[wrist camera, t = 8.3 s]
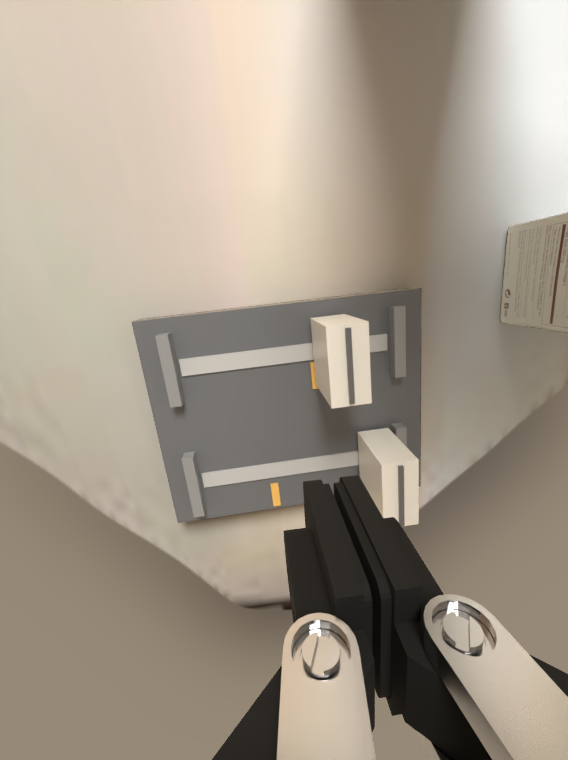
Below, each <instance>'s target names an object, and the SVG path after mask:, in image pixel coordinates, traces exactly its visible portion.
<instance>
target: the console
mask: <svg viewBox="0 0 568 760" xmlns="http://www.w3.org/2000/svg"><path fill="white" fill-rule="evenodd" d="M340 314H347V315H350V316H353V317H356V318H359V319H363V320H366V321H369V344H370V370H371V396H372V403H370V404H362V405H355V406H348V407H340V408H333V409H332V408H331V407H330V405H329V404H328V402H327V401H326V399H325V398H324V396H323V395H322V393H321V391H320V390H319V388H318V387H317V385H316V379H315V367H314V355H313V344H312V332H311V320H310V318H314V317H323V316H331V315H340ZM132 326H133V330H134V334H135V339H136V343H137V347H138V352H139V356H140V360H141V365H142V369H143V373H144V378H145V382H146V386H147V391H148V395H149V399H150V404H151V408H152V412H153V417H154V421H155V425H156V430H157V434H158V438H159V443H160V447H161V451H162V456H163V460H164V464H165V469H166V473H167V477H168V482H169V486H170V490H171V495H172V499H173V503H174V508H175V512H176V516H177V521H178V523H182V522H188V521H195V520H201V519H208V518H214V517H221V516H227V515H234V514H241V513H247V512H254V511H260V510H267V509H273V508H280V507H286V506H293V505H299V504H304V494H303V481H311V480H320V479H321V480H322V482H323V484H328V483H329V485H330V487H331V489H332V492H333V494H334V490H333V485H334V483H337V482H339V478H340V477H345V476H354V475H359V477H360V472H359V453H358V433H357V432H361V431H368V430H375V429H382V428H389V429H390V430H391V431H392V432H393V433H394V435H395V436H396V437H397V438H398V439H399V440H400V441H401V442H402V443H403V444H404V445H405V446H406V447H407V448H408V449H409V450H410V451H411V452H412V453H413V454H414V455H415V456H416V457H417V459H418V460H419V486H420V456H421V288H404V289H395V290H387V291H378V292H369V293H361V294H352V295H343V296H335V297H326V298H318V299H309V300H300V301H292V302H283V303H275V304H266V305H257V306H249V307H240V308H232V309H223V310H214V311H206V312H197V313H188V314H180V315H171V316H163V317H154V318H145V319H139V320H136V321H133V322H132Z"/></svg>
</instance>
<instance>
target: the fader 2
mask: <svg viewBox="0 0 568 760" xmlns="http://www.w3.org/2000/svg"><path fill="white" fill-rule="evenodd" d="M357 433H358V453H359V472H360V478H361V480H362V482H363V484H364V485H365V487H366V489H367V491H368V492H369V494H370V496H371V498H372V499H373V501H374V503H375V505H376V506H377V508H378V510H379V512H380V513H381V515H382V517H383V518H390V517H394V518H396V520H397V521H398V522H399V524H400V525H401V527H402V526H408V525H414V524H418V523H419V518H418V517H419V460H418V459H417V457H416V456H415V455H414V454H413V453H412V452H411V451H410V450H409V449H408V448H407V447H406V446H405V445H404V444H403V443H402V442H401V441H400V440H399V439H398V438H397V437H396V436H395V435H394V433H393V432H392V431H391V430H390V429H389V428H382V429H375V430H368V431H361V432H357Z"/></svg>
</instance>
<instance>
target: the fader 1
mask: <svg viewBox="0 0 568 760" xmlns="http://www.w3.org/2000/svg"><path fill="white" fill-rule="evenodd" d="M310 320H311V332H312V344H313V355H314V367H315V379H316V385H317V387H318V388H319V390H320V391H321V393H322V395H323V396H324V398H325V399H326V401H327V402H328V404H329V405H330V407H331V408H332V409H333V408H340V407H348V406H355V405H362V404H370V403H372V396H371V370H370V344H369V321H366V320H363V319H359V318H356V317H353V316H350V315H347V314H340V315H331V316H323V317H314V318H310Z"/></svg>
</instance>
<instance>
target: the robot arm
mask: <svg viewBox="0 0 568 760" xmlns="http://www.w3.org/2000/svg"><path fill="white" fill-rule="evenodd" d="M333 490H334V494H333V492H332V489H331V487H330V485H329V483H328V484H323V482H322V480H321V479H320V480H311V481H303V494H304V509H305V525H306V528H302V529H294V530H286V531H284V542H285V554H286V565H287V574H288V583H289V591H290V599H291V606H292V614H293V622H294V624H293V625H292V626H291V627H290V629H289V630H288V632H287V634H286V636H285V640H284V645H283V657H282V666H281V667H280V669H279V670H278V671H277V673H276V674H275V675H274V677H273V678H272V679H271V681H270V682H269V683H268V685H267V686H266V688H265V689H264V690H263V691H262V693H261V694H260V696H259V697H258V698H257V700H256V701H255V702H254V704H253V705H252V706H251V708H250V709H249V711H248V712H247V713H246V714H245V716H244V717H243V719H242V720H241V721H240V723H239V724H238V725H237V727H236V728H235V729H234V731H233V732H232V734H231V735H230V736H229V737H228V739H227V740H226V742H225V743H224V744H223V745H222V747H221V748H220V750H219V751H218V752H217V754H216V755H215V756H214V758H213V759H212V760H376V758H375V751H374V745H373V738H372V731H373V729H374V726H375V725H374V723H375V722H374V719H375V718H374V717H375V715H374V713H375V707H374V706H375V705H374V704H375V701H374V699H375V690H376V693H377V695H378V697H379V698H383V697H386V699H387V701H388V704H389V708H390V711H391V714H392V716H393V715H398V714H402V715H403V718H404V720H405V722H406V723H407V724H409V725H410V726H411V727H413V728H414V729H415V730H417V731H418V732H419V737H420V740H421V743H422V745H423V748H424V750H425V752H426V754H427V756H428V758H429V760H568V674H566V673H564V672H563V671H561V670H559V669H557V668H555V667H553V666H551V665H549V664H547V663H545V662H543V661H541V660H539V659H537V658H535V657H533V656H531V655H529V654H528V653H527V652H526V651H525V650H524V649H523V648H522V646H521V645H520V644H519V643H518V642H517V641H516V640H515V639H514V638H513V637H512V635H511V634H510V633H509V632H508V631H507V630H506V629H505V628H504V627H503V626H502V624H501V623H500V622H499V621H498V620H497V619H496V618H495V617H494V616H493V615H492V614H491V613H490V612H489V611H488V610H486V609H485V608H484V607H483V606H481V605H480V604H478V603H476V602H475V601H473V600H471V599H468V598H466V597H463V596H460V595H453V594H445V595H444V594H443V592H442V591H441V589H440V588H439V586H438V584H437V583H436V582H435V580H434V578H433V577H432V575H431V573H430V572H429V570H428V569H427V567H426V565H425V564H424V562H423V561H422V559H421V557H420V556H419V554H418V553H417V551H416V549H415V548H414V546H413V545H412V543H411V541H410V540H409V538H408V537H407V535H406V533H405V532H404V530H403V529H402V527H401V525H400V524H399V522H398V521H397V520H396V518H394V517H390V518H383V517H382V515H381V513H380V512H379V510H378V508H377V506H376V505H375V503H374V501H373V499H372V498H371V496H370V494H369V492H368V491H367V489H366V487H365V485H364V484H363V482H362V480H361V478H360V477H359V475H354V476H345V477H340V478H339V482H337V483H334V485H333Z"/></svg>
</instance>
